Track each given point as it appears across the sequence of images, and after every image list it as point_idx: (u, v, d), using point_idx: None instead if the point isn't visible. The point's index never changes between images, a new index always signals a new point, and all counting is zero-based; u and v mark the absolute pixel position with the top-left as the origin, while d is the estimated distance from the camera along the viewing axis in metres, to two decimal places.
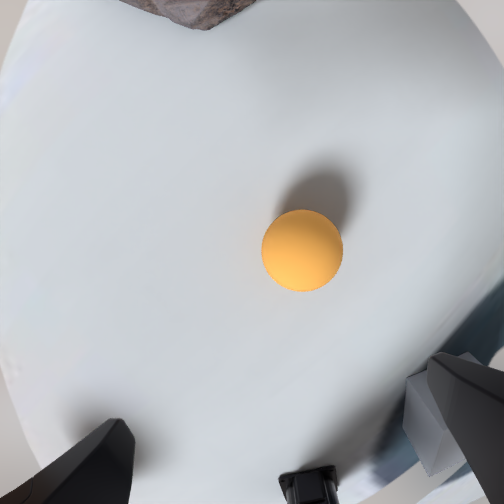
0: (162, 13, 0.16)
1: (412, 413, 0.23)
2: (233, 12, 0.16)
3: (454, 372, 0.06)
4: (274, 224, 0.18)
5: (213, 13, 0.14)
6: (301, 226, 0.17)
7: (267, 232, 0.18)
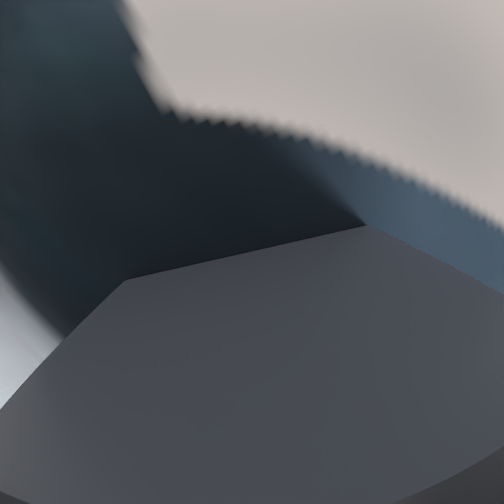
0: None
1: None
2: None
3: None
4: None
5: None
6: None
7: None
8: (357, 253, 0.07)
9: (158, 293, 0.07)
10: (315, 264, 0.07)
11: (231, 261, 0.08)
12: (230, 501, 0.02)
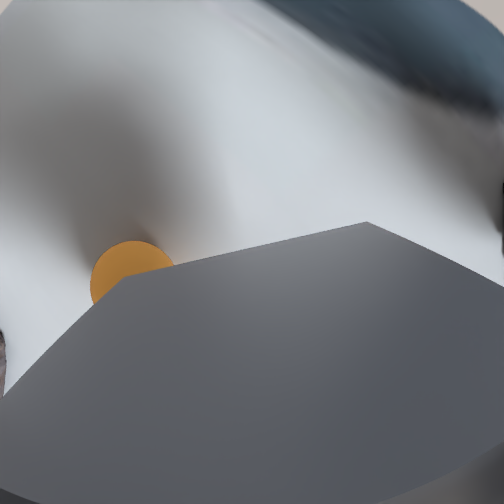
0: (2, 372, 0.19)
1: None
2: None
3: None
4: None
5: None
6: None
7: None
8: (357, 248, 0.07)
9: (157, 289, 0.07)
10: (315, 259, 0.07)
11: (230, 257, 0.08)
12: (227, 495, 0.02)
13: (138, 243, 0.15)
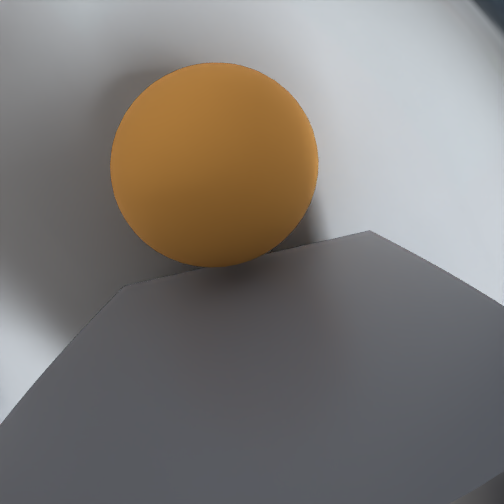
0: None
1: None
2: None
3: None
4: (111, 155, 0.06)
5: None
6: None
7: (116, 148, 0.06)
8: (360, 261, 0.06)
9: (158, 301, 0.07)
10: (318, 272, 0.07)
11: (232, 267, 0.08)
12: None
13: None
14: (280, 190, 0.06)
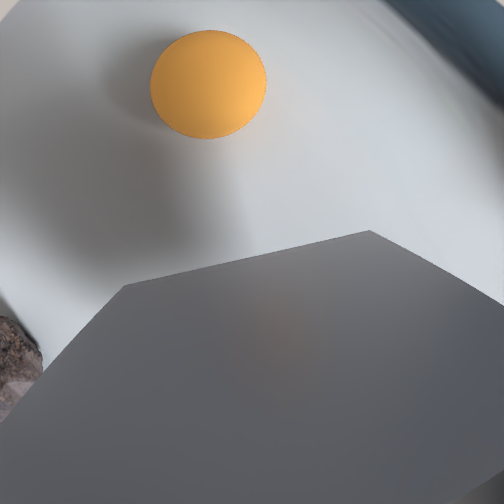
0: None
1: None
2: (18, 336, 0.16)
3: None
4: None
5: (20, 366, 0.14)
6: None
7: None
8: (360, 261, 0.06)
9: (158, 301, 0.07)
10: (318, 272, 0.07)
11: (232, 267, 0.08)
12: None
13: (245, 108, 0.11)
14: None
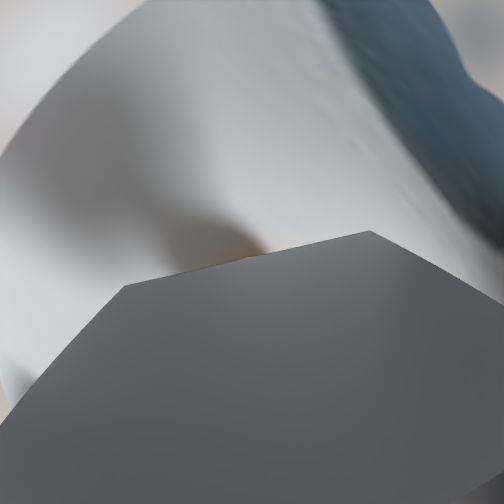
0: None
1: None
2: None
3: None
4: None
5: None
6: None
7: None
8: (360, 261, 0.06)
9: (158, 301, 0.07)
10: (318, 272, 0.06)
11: (232, 267, 0.08)
12: None
13: None
14: None
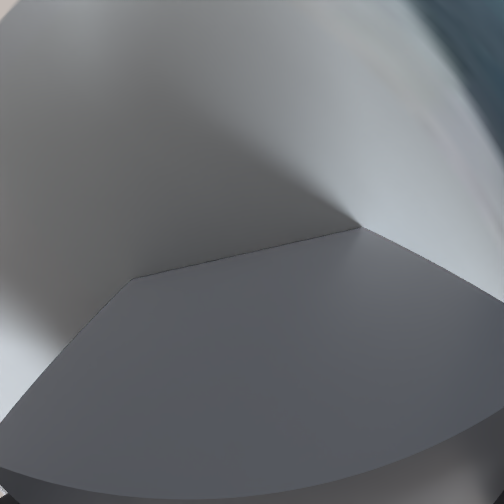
0: None
1: None
2: None
3: None
4: None
5: None
6: None
7: None
8: (353, 254, 0.07)
9: (165, 291, 0.08)
10: (313, 264, 0.07)
11: (234, 261, 0.09)
12: (240, 468, 0.02)
13: None
14: None
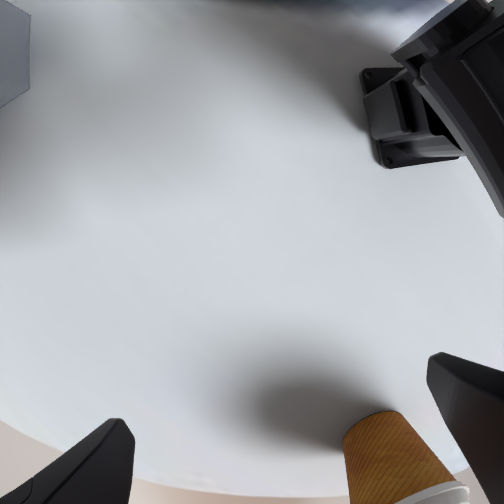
0: None
1: None
2: None
3: (454, 372, 0.06)
4: None
5: None
6: None
7: None
8: None
9: None
10: None
11: None
12: None
13: None
14: None
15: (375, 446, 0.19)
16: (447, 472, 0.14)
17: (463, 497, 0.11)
